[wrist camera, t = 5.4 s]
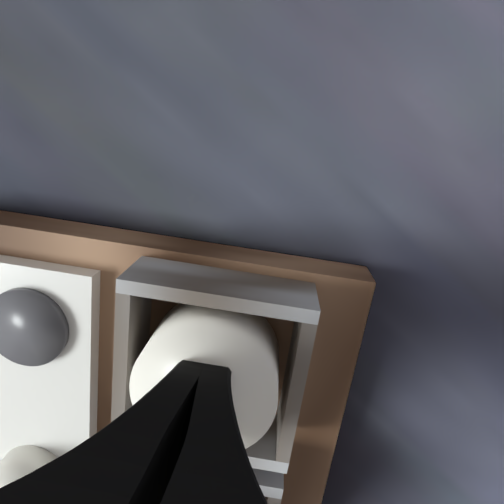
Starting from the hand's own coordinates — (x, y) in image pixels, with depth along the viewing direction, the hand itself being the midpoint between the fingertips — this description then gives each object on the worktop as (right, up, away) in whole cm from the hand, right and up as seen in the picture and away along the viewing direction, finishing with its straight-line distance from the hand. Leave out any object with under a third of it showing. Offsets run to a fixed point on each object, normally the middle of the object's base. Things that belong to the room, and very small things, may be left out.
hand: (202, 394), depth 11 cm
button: (0, +1, +2) cm, 2 cm away
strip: (-7, -4, +4) cm, 9 cm away
